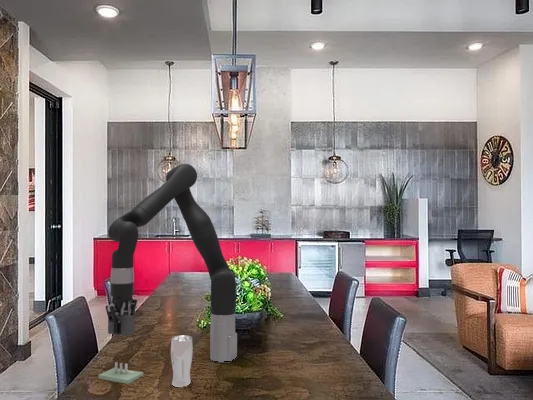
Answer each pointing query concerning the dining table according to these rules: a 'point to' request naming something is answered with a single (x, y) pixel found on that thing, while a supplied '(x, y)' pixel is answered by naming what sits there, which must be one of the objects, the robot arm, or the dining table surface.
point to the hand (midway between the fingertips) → (121, 332)
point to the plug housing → (123, 325)
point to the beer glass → (181, 359)
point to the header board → (120, 374)
